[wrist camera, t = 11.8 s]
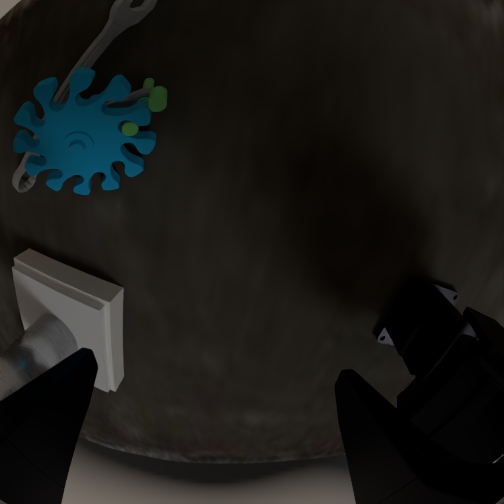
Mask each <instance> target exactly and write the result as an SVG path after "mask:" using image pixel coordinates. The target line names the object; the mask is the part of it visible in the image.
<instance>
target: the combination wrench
mask: <svg viewBox="0 0 504 504" xmlns="http://www.w3.org/2000/svg"><path fill="white" fill-rule="evenodd" d="M132 1H133V0H116V1H115V2H114V4H113V5H112V7H111V10H110V14H109V20H108V22H107V23H106V25H105V27H104V29H103V30H102V32H101V33H100V34H99V35H98V37H97V38H96V39H95V40H94V41H93V43H92V44H91V45H90V46H89V48H88V49H87V50H86V51H85V53H84V54H83V55H82V57H81V58H80V59H79V61H78V62H77V64H76V65H75V66H74V68H73V69H72V71H71V72H70V74H69V75H68V77H67V78H66V80H65V81H64V83H63V84H62V86H61V87H60V89H59V91H58V92H57V94H56V95H55V97H54V101H55V102H56V103H57V104H64V103H65V102H66V101H67V100H68V98H69V95H70V84H69V79H70V77H71V75H72V74H73V72H74V71H75V69H76V68H77V67H78V66H79V67H86V68H91V67H92V66H93V64H94V63H95V62H96V60H97V59H98V58H99V56H100V55H101V54H102V53H103V51H104V50H105V49H106V48H107V46H108V45H109V44H110V43H111V42H112V40H113V39H114V38H115V37H116V36H118V35H119V34H120V33H121V32H123V31H124V30H125V29H127V28H128V27H130V26H132V25H134V24H137V23H138V22H140V21H141V20H142V19H143V18H144V17H145V16H146V15H147V14H148V13H149V12H150V11H151V10H152V9H153V8H154V6H155V4H156V2H157V0H145V1H144V2H143V3H142V5H141V6H139V7H135V8H130V6H129V5H130V4H131V2H132ZM44 119H45V115H44V116H43V118H42V120H44ZM33 138H34V139H37V140H38V137H37V136H36V135H35V134H34V136H33ZM30 155H37V156H40V154H37V153H34V152H26V154H25V156H24V158H23V160H22V162H21V164H20V166H19V167H18V168H17V170H16V171H15V173H14V175H13V180H12V182H13V186H14V187H15V189H16V190H17V191H19V192H26V191H27V190H29V189H30V188H31V187H32V186H33V185H34V183H35V178H36V176H37V175H35V176H30V177H29V179H28V180H27V181H26V182H25V183H24V184H22V185H19V180H20V178H21V176H22V175H23V173H24V172H25V171H26V169H25V166H24V165H25V163H26V160H27V158H28V156H30Z"/></svg>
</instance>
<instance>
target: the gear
mask: <svg viewBox="0 0 504 504" xmlns="http://www.w3.org/2000/svg"><path fill="white" fill-rule="evenodd" d="M94 77H95V71H94V70H92V69H90V68H86V67H79V66H78V67H77V68H76V69H75V71H74V72H73V74H72V75H71V77H70V79H69V84H70V95H69V98H68V100H67V101H66V102H65V103H64V104H57V103H56V102H55V101H54V99H53V95H54V93H55V91H56V90H57V88H58V80H57V78H56V77H51V78H47V79H44V80H42V81H40V82H39V83H38V84H37V86H36V87H35V88H34V96H35V98H36V99H37V100H38V101H39V102H40V103H41V105H42V107H43V109H44V112H45V119H44V120H41V119H39V118H37V116H36V112H35V106H34V104H33V103H32V102H30V101H27V102H25V103H24V104H23V105H22V107H21V108H20V109H19V111H18V112H17V114H16V116H15V117H14V119H13V120H14V122H15V123H16V124H18V125H20V126H24V127H27V128H28V129H30V130H31V131H33V133H34V134H35V135H36V136H37V137H38V140H37V139H34V138H32V137H31V135H30V134H29V133H28V132H27V131H25V130H19V132H18V134H17V136H16V137H15V139H14V143H13V151H14V152H16V153H23V152H34V153H37V154H40V155H42V156H44V157H45V158H42V157H39V156H37V155H30V156H28V158H27V160H26V163H25V165H24V166H25V169H26V171H27V173H28V174H29V176H35V175H37V174H38V173H39V172H41V171H43V170H46V169H59V170H60V171H52V172H50V173H49V176H48V179H47V182H46V184H47V185H48V186H49V187H50V188H52V189H53V190H55V191H58V190H60V189H61V187H62V184H63V182H64V181H65V180H66V179H67V178H69V177H71V176H73V175H81V177H79V178H77V179H76V182H75V187H74V192H75V193H77V194H82V195H88V194H89V193H90V189H91V179H90V178H91V177H92V175H93V174H94V173H96V172H102V173H104V176H103V181H102V188H103V189H104V190H113V189H118V188H119V181H120V176H119V174H118V173H117V172H116V171H115V170H114V169H113V166H112V162H114V161H121V162H123V163H124V164H125V173H126V175H127V176H129V177H133V176H136V175H137V174H139V173H141V172H142V171H143V168H144V160H143V159H142V158H141V157H139V156H136V155H134V154H132V153H130V152H129V151H128V150H127V149H126V148H125V146H124V145H123V144H124V143H127V142H129V143H133V144H134V145H135V146H136V148H137V150H138V151H139V152H140V153H142V154H149V153H150V152H151V151H152V150H153V148H154V146H155V144H156V133H154V132H152V131H138V129H139V126H146V125H148V124H150V120H151V113H152V112H153V111H154V112H160V111H162V110H164V109H165V108H166V105H167V90H166V88H164V87H162V86H157V87H154V80H153V79H152V78H147V79H145V81H144V84H143V88H142V89H139V90H137V91H134V92H131V93H130V91H131V85H130V83H129V82H128V80H127V79H126V78H125V77H123V76H122V75H117V76H115V77H114V78H113V79H112V80H111V82H110V84H109V85H108V87H107V88H106V89H105V90H104V91H103V92H102V93H100V94H99V95H97V94H95V95H92V96H91V97H90V99H83V98H81V97H80V95H79V93H80V92H81V91H83V90H85V89H87V88H88V87H89V86H90V84H91V83H92V81H93V79H94ZM153 87H154V88H153ZM106 101H109V102H107V103H105V102H106ZM104 103H105V104H104ZM122 121H123V125H122V124H121V123H120V122H122Z"/></svg>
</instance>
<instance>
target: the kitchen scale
mask: <svg viewBox="0 0 504 504" xmlns="http://www.w3.org/2000/svg"><path fill="white" fill-rule="evenodd" d="M14 264H15V266H13V267H12V272H13V278H14V284H15V290H16V295H17V300H18V305H19V309H20V314H21V318H22V322H23V326H24V329H25V330H26V329H27V328H28V327H29V326H30V325H32V324H33V323H34V322H35V321H36V320H37V319H38V318H39V317H40V316H41V315H42V314H45V313H49V314H52V315H54V316H56V317H57V318H59V319H60V320H61V321H62V322H63V323H64V324H65V325H66V326H67V327H68V328H69V329H70V331H71V332H72V334H73V335H74V337H75V339H76V342H77V345H78V350H79V349H80V348H83V347H84V348H88V349H91V350H92V351H93V352H94V355H95V358H96V361H97V363H98V372H97V376H96V380H95V384H94V386H95V387H97V388H99V389H101V390H103V391H106V392H109V390H112V391H115V392H116V390H117V388H118V386H119V384H120V383H121V381H122V379H123V377H124V368H123V289H124V288H123V287H121V286H118V285H115V284H113V283H110V282H107V281H105V280H102V279H100V278H97V277H95V276H92V275H90V274H87V273H85V272H82V271H80V270H77V269H75V268H73V267H70V266H68V265H65V264H63V263H61V262H58V261H56V260H54V259H52V258H49V257H47V256H45V255H43V254H41V253H38V252H36V251H34V250H32V249H30V248H29V249H28V250H26V251H24V252H23V253H21V254H19V255H18V256H16V257H14Z"/></svg>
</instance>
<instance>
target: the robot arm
mask: <svg viewBox="0 0 504 504" xmlns="http://www.w3.org/2000/svg"><path fill="white" fill-rule="evenodd" d="M413 281H414V283H413V284H411V283H412V282H413ZM458 298H459V293H458V292H457V291H455V290H453V289H450V288H447V287H444V286H441V285H438V284H436V283H433V282H430V281H427V280H424V279H421V278H418V277H415V276H411V277H409V278H408V280H407V281H406V283H405V285H404V287H403V289H402V291H401V293H400V295H399V297H398V299H397V300H396V302H395V304H394V305H393V307H392V309H391V311H390V313H389V314H388V316H387V318H386V320H385V321H384V324H383V325H382V327H381V329H380V330H379V332H378V334H377V335H376V339H377V341H378V342H379V343H384V344H390V345H394V346H395V348H396V350H397V352H398V354H399V355H400V356H402V358H403V360H404V362H405V364H406V366H407V368H408V370H409V372H410V374H411V375H415V376H416V378H415V379H414V380H413V381H412V382H411V383H410V385H409V386H408V387H407V388H406V389H405V390H404V391H402V392H401V393H400V394H399V395H398V396H397V409H396V408H395V407H394V406H393V405H392V404H391V403H390V402H389V401H387V400H386V399H385V398H384V397H383V396H382V395H381V394H380V393H379V392H377V391H376V390H375V389H374V388H373V387H372V386H371V385H370V384H369V383H368V382H366V381H365V380H364V379H363V378H362V377H361V376H360V375H359V374H358V373H357V372H355V371H354V370H353V369H344V370H342V371H341V372H340V374H339V377H338V379H337V381H336V383H335V396H336V405H337V413H338V422H339V427H340V432H341V436H342V440H343V445H344V449H345V454H346V458H347V463H348V467H349V472H350V477H351V481H352V486H353V491H354V496H355V501H356V504H504V328H503V327H502V326H501V325H500V324H499V323H498V322H497V321H496V320H494V319H492V318H490V317H488V316H486V315H484V314H482V313H480V312H478V311H476V310H474V309H472V308H470V307H466V309H465V310H464V312H463V316H462V315H461V313H460V312H459V311H458V310H457V309H456V308H455V307H454V306H455V304H456V302H457V300H458ZM382 336H383V337H382ZM381 337H382V338H381ZM97 372H98V363H97V361H96V358H95V355H94V352H93V351H92V350H91V349H88V348H84V347H83V348H80V349H79V350H77V351H76V352H74V353H73V354H71V355H70V356H68V357H67V358H65V359H63V360H62V361H60V362H59V363H57V364H56V365H54V366H53V367H51V368H50V369H48V370H47V371H45V372H44V373H42V374H41V375H39V376H38V377H36V378H35V379H33V380H32V381H30V382H29V383H27V384H26V385H24V386H23V387H21V388H19V389H18V390H17V391H15V392H13V393H12V394H10V395H9V396H7V397H6V398H4V399H3V400H1V401H0V504H61V503H62V498H63V493H64V488H65V484H66V480H67V476H68V472H69V468H70V464H71V461H72V457H73V454H74V450H75V447H76V443H77V440H78V437H79V434H80V431H81V428H82V424H83V421H84V418H85V416H86V413H87V410H88V407H89V404H90V400H91V396H92V392H93V388H94V384H95V380H96V376H97Z"/></svg>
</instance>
